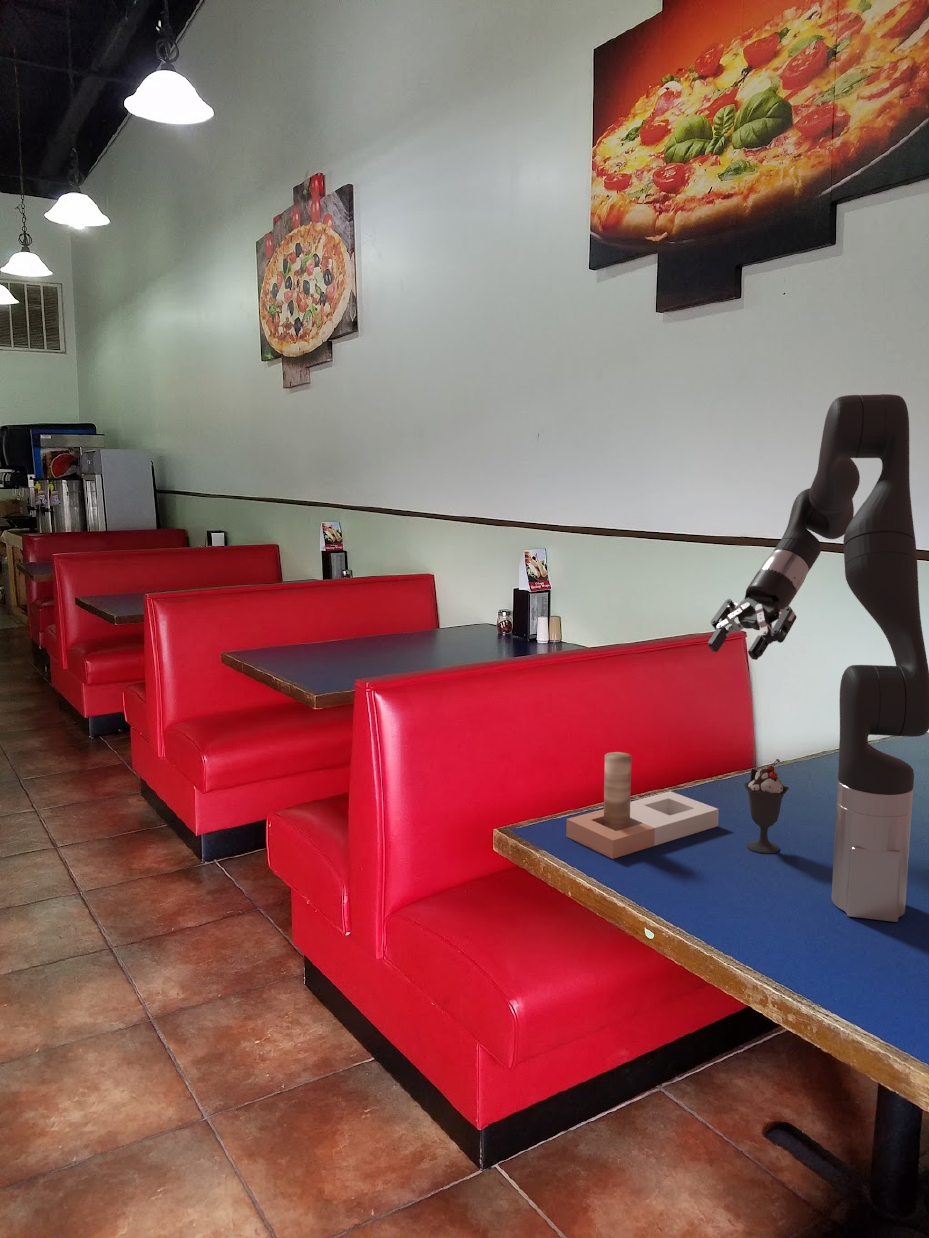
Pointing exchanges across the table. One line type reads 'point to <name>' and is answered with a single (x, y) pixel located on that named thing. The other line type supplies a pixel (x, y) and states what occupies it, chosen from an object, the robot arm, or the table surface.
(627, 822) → the peg
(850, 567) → the robot arm
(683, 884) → the table surface
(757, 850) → the sundae
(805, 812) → the table surface
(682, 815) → the dock board
